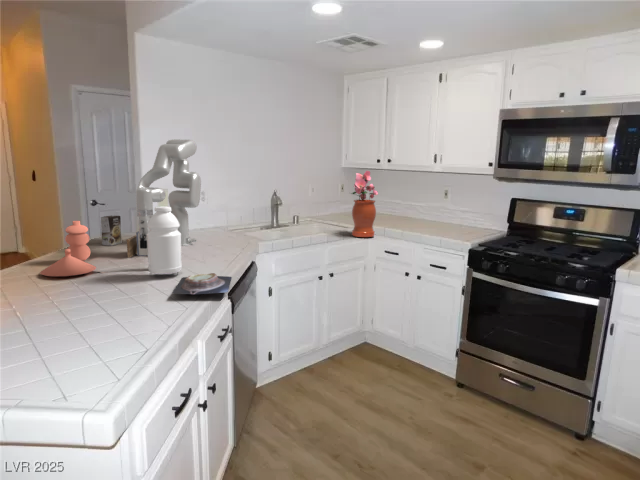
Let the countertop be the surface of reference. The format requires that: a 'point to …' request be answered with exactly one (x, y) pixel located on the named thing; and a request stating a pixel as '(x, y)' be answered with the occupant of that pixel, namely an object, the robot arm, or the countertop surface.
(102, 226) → the coffee box
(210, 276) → the quiche
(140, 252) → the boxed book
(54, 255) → the countertop surface
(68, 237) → the ceramic vessels
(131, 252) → the oak shelf
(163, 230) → the bottle
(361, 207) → the potted flower
